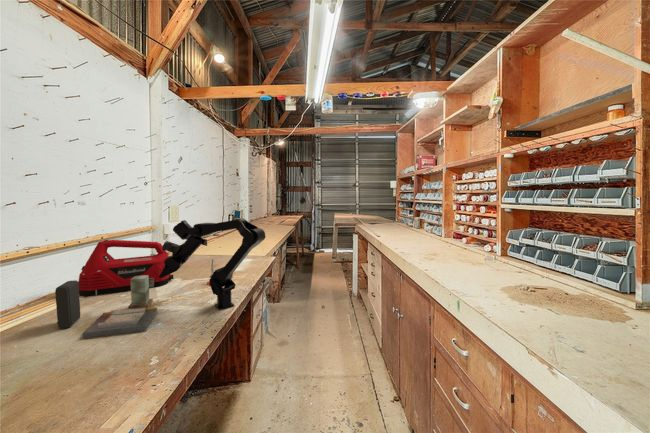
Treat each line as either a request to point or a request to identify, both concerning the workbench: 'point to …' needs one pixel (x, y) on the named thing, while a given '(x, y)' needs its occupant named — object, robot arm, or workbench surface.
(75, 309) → the card reader
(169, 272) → the robot arm
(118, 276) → the power tool
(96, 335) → the dock plate
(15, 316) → the workbench surface
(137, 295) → the layered pillar on plinth
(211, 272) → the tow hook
